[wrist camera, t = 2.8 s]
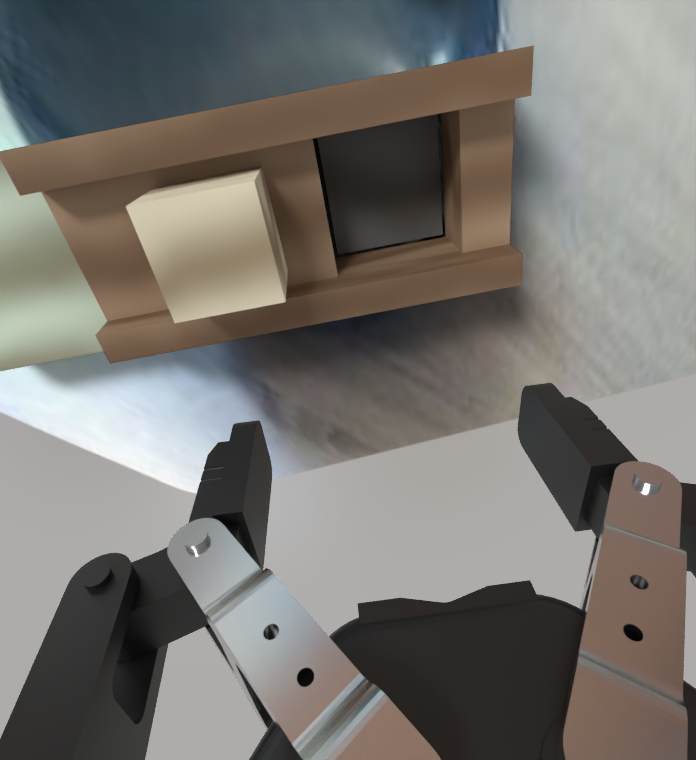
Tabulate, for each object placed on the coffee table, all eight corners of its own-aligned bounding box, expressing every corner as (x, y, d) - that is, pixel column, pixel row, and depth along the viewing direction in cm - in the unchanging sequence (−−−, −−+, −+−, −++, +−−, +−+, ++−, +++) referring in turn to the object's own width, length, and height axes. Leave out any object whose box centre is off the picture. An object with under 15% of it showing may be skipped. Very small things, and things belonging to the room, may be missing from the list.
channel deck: (-110, 173, 26) (-206, 191, 21) (488, 54, 26) (533, 45, 21) (7, 347, 33) (-45, 392, 28) (487, 255, 33) (521, 285, 28)
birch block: (155, 187, 25) (125, 206, 20) (262, 166, 24) (254, 181, 20) (193, 288, 28) (174, 323, 24) (287, 270, 28) (285, 302, 24)
